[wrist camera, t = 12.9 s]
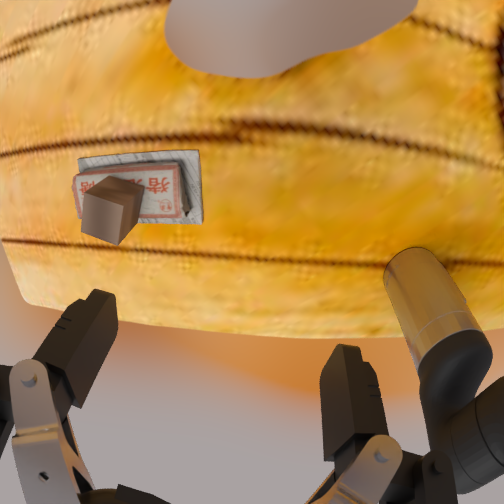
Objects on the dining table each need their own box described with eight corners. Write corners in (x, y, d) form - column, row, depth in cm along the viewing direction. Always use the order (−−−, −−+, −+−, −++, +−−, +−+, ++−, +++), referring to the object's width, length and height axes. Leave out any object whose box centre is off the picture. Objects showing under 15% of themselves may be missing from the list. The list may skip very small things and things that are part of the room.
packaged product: (77, 234, 40) (62, 166, 34) (93, 219, 44) (81, 156, 39) (197, 236, 38) (191, 156, 33) (205, 219, 42) (200, 147, 37)
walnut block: (144, 186, 35) (123, 206, 30) (137, 222, 38) (117, 245, 33) (109, 175, 35) (84, 192, 30) (104, 210, 37) (81, 231, 32)
